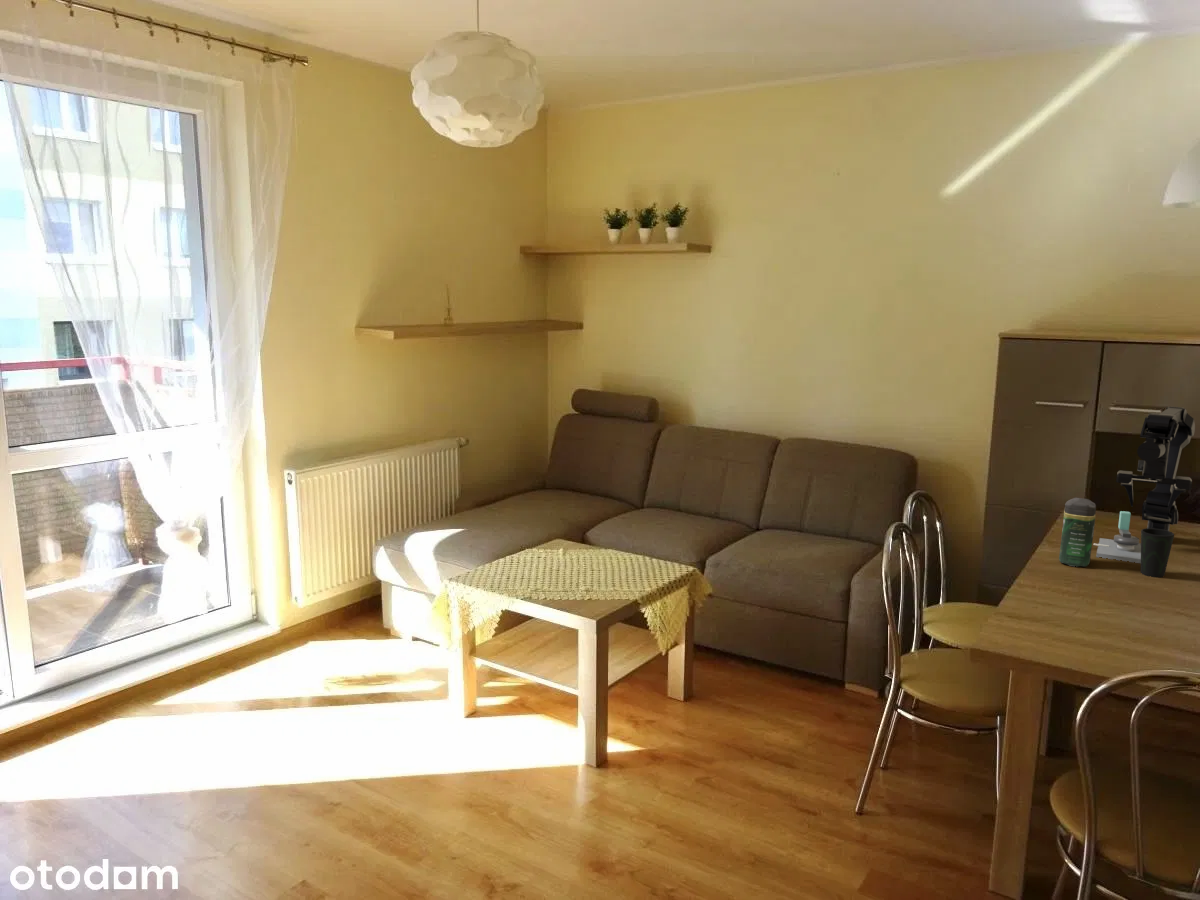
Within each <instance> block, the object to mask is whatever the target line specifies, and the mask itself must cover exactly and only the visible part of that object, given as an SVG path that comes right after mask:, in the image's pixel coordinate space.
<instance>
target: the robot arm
mask: <svg viewBox="0 0 1200 900" xmlns="http://www.w3.org/2000/svg"><path fill="white" fill-rule="evenodd" d="M1195 431H1196V424H1195V418H1194V417H1192V416H1191V415H1190V414H1189V413H1188V411H1187V409H1186V408H1184V407H1183V406H1181V407H1180V406H1170V405H1169V406H1166V408H1165V410H1163V411H1162V412H1160V413H1148V415H1147V416H1146V417H1145V418H1144V422H1143V423H1142V428H1141V432H1140V435H1139V438H1145V440H1144V442H1143V443H1141V444H1139V446H1138V447H1137V452H1136V453H1137V455H1138V457H1139V458H1140V459H1138V461H1137V462H1138V463H1137V470H1136V471H1138V472H1142V474H1141V475H1139V474H1133V471H1132V470H1130V471H1129V470H1118V471H1117V473H1116V479H1115V480H1116V481H1115V482H1116V483H1117V484H1119V483H1120V486H1122V487H1124V488H1125V490H1126V492H1127V495H1128V499H1129V504H1130V507H1133V506H1134V489H1133V488H1134V483H1133V482H1142V483H1150V484H1155V488H1153V489H1152V490H1149V491H1148V492H1147V496H1146V500H1144V501H1143V503H1142V507H1141V520H1142V521H1147V526H1146V528H1154V529H1162V530H1167V531H1170V525H1172V526H1173V525H1178V523H1179V512H1178V511H1179V510H1178V509H1177V505H1176V500H1177V498H1179V496H1180V495H1181V494H1182V493H1186V491H1191V490H1192V486H1193V480H1192V478H1191V477H1190V476H1180V475H1177V471H1178V468H1179V464H1180V458H1181V454H1182V450H1183V449H1185V447H1186V446H1188V445H1189V444H1190V442H1191V440H1192V437H1194V435H1195Z"/></svg>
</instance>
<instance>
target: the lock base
mask: <svg viewBox="0 0 1200 900" xmlns="http://www.w3.org/2000/svg"><path fill="white" fill-rule="evenodd" d="M1092 546H1097V549H1096V555H1095V558H1099V557H1102V558H1101V559H1106V558H1108V560H1113V559H1116V560H1115V561H1120V560H1122V561H1121V562H1127V561H1129V563H1134V562H1135V563H1136V564H1141V542H1139V544H1138V545H1123V544H1119V543H1116V542H1114V539H1110V538H1102V537H1099V542H1098V543H1095V542H1094V543H1092Z"/></svg>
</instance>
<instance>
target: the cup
mask: <svg viewBox="0 0 1200 900" xmlns="http://www.w3.org/2000/svg"><path fill="white" fill-rule="evenodd" d="M1174 538H1175V533H1174V532H1172V531H1170V530H1169V531H1167V530H1162V529H1154V528H1147V527H1145V528H1142V529H1141V530H1140V543H1141V563H1140V573H1142V575H1143V576H1147V577H1150V576H1151V577H1150V578H1164V577H1165V574H1166V571H1167V566H1168V562H1169V558H1170V554H1171V550H1172V546H1173V541H1174ZM1163 576H1164V577H1163Z"/></svg>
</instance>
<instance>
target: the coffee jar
mask: <svg viewBox="0 0 1200 900" xmlns="http://www.w3.org/2000/svg"><path fill="white" fill-rule="evenodd" d="M1096 513H1097V504H1096V503H1095V502H1093V501H1092V500H1090V498H1083V497H1082V498H1081V497H1073V498H1071V499H1068V500H1067V501H1066V502H1065V504H1064V512H1063V522H1062V529H1061V530H1062V531H1061V537H1060V538H1061V539H1060V547H1059V556H1058V560H1059V562H1060V563H1062V564H1065V565H1068V566H1069V567H1075V566H1076V567H1088V566H1089V564H1090V562H1091V556H1092V555H1091V554H1092V548H1093V541H1094V533H1095V532H1094V531H1095V527H1096V526H1095V523H1096V516H1097V515H1096Z"/></svg>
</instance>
